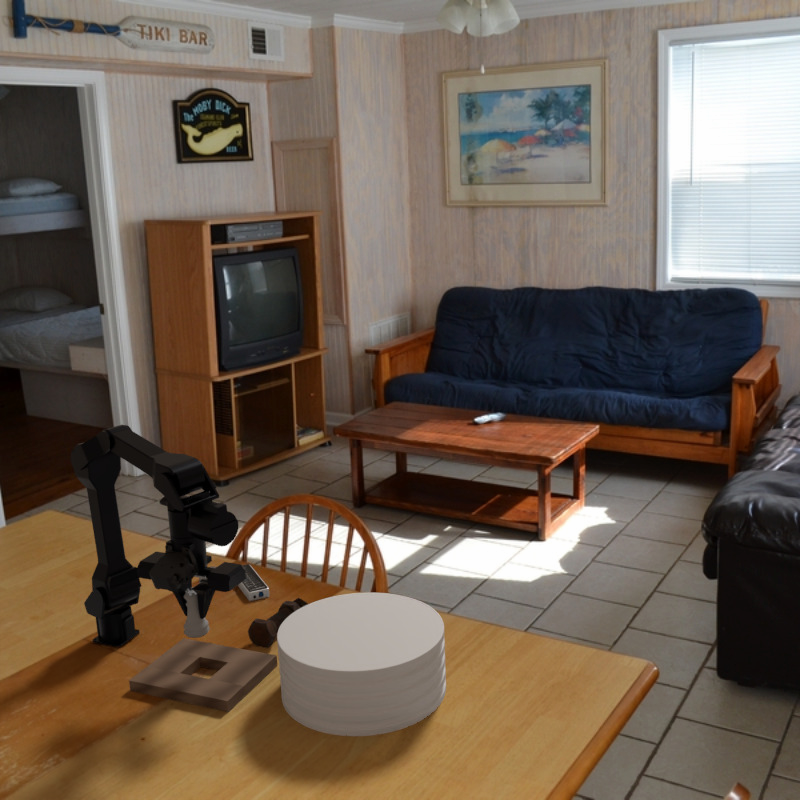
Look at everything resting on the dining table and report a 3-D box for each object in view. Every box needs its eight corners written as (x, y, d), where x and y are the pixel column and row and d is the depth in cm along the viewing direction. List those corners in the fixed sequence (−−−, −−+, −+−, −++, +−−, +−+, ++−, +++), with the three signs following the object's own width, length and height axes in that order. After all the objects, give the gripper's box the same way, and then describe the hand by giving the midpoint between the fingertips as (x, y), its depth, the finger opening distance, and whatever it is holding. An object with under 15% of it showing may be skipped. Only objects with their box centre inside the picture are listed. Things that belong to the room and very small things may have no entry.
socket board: (130, 690, 170) (129, 680, 170) (184, 647, 184) (183, 638, 184) (228, 712, 162) (227, 701, 162) (277, 665, 176) (276, 655, 176)
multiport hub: (250, 573, 217) (249, 563, 217) (270, 598, 204) (269, 588, 204) (230, 577, 215) (229, 567, 215) (249, 603, 203) (248, 592, 202)
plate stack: (465, 660, 176) (463, 601, 173) (416, 749, 150) (413, 682, 148) (321, 641, 185) (317, 585, 182) (252, 722, 159) (247, 658, 157)
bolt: (306, 622, 197) (263, 654, 183) (287, 607, 198) (243, 638, 185) (317, 601, 194) (275, 632, 181) (298, 586, 196) (254, 615, 183)
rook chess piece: (185, 627, 173) (181, 585, 171) (211, 625, 173) (207, 583, 171) (182, 639, 168) (177, 596, 166) (208, 637, 169) (204, 594, 167)
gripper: (111, 543, 163) (121, 629, 167) (206, 557, 155) (214, 647, 159) (153, 519, 173) (162, 601, 176) (244, 532, 165) (251, 617, 169)
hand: (195, 616), depth 170 cm, fingers closed on rook chess piece, 3 cm apart
